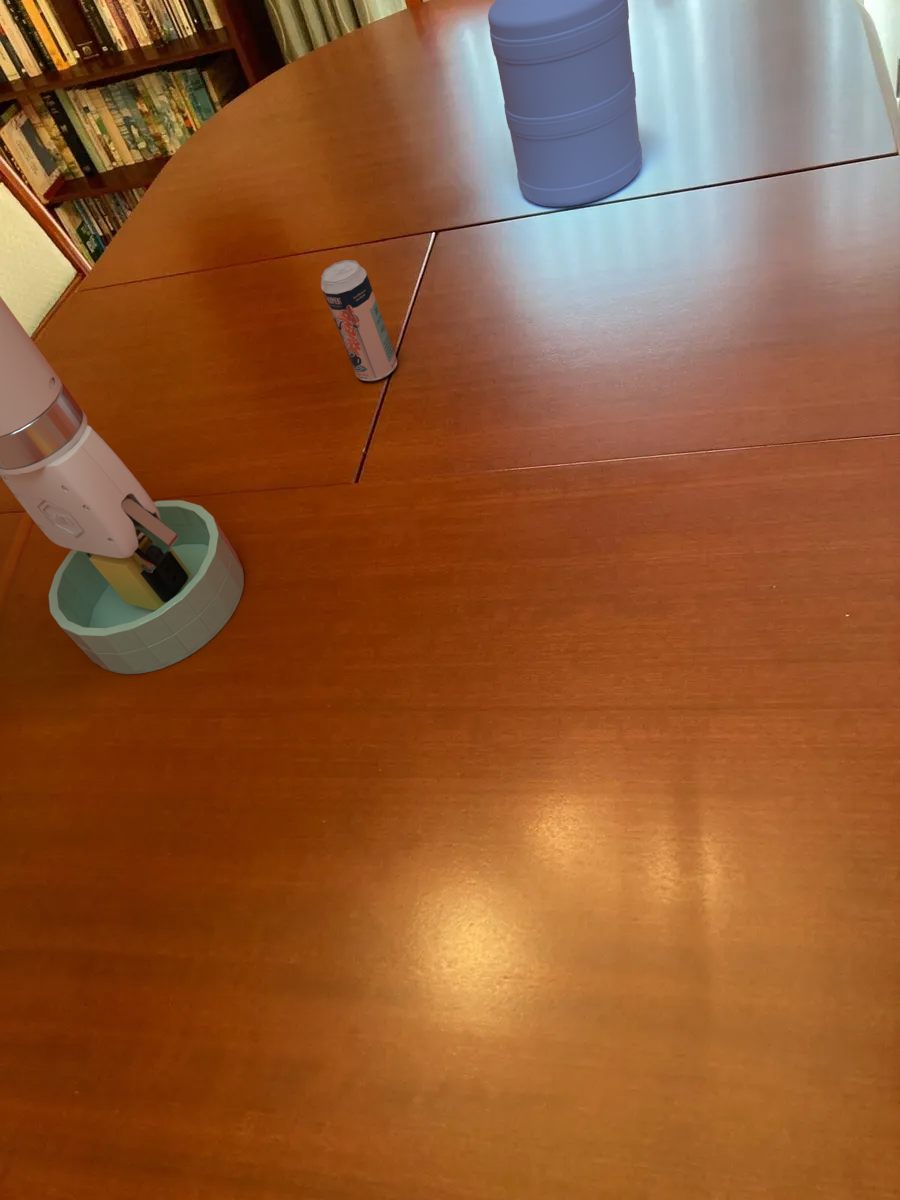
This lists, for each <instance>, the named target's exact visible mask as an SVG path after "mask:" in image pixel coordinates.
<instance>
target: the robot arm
mask: <svg viewBox="0 0 900 1200" xmlns="http://www.w3.org/2000/svg"><path fill="white" fill-rule="evenodd" d="M0 477H1V479H2V480H3V482H4V483H5V485H6V486H7V488H8V489H9V490H10V492H11V493H12V494H13V496H14V497H15V499H16V500H17V501H18V503H19V504H20V505H21V507H22V508H23V509H24V510H25V511H26V513H27V514H28V515H29V517H30V518H31V519H32V520H33V522H34V523H35V524H36V525H37V527H38V528H39V529H40V530H41V532H42V533H43V534H44V535H45V536H46V538H48V540H49V541H50V542H51V543H53V544H54V545H57V546H59V547H62V548H66V549H69V550H72V549H73V550H78V551H83V552H85V554H86V555H87V556H88V557H89V558H90V557H91V556H92V555H93V554H97V555H102V556H107V557H113V558H128V557H131V558H132V559H133V560H134V561H135V562H136V563H137V564H138V565H139V566H140V567H141V568H142V569H143V571H142V572H141V575H142V576H143V577H144V579H145V580H146V581H147V582H148V584H149V585H150V586H151V587H152V589H153V590H154V591H155V593H156V594H157V595H158V596H159V598H160V599H161V600H162V601H163V602H166V603H167V602H168V601H170V600H171V599H172V598H174V597H175V596H176V595H177V593H178V592H179V591H180V589H181V588H182V587H183V585H184V584H185V583H186V582H187V580H188V575H187V573H186V572H185V570H184V569H183V568H182V566H181V565H180V564H179V562H178V561H177V560H176V558H175V557H174V556H173V554H172V553H171V551H170V550H171V546H172V545H173V544H174V543H175V541H176V540H177V539H178V535H177V534H176V533H175V532H174V531H172V530H171V529H170V528H168V527H167V526H166V525H165V524H163V523H162V522H161V521H160V514H159V512H158V510H157V508H156V506H155V504H154V503H153V502H154V501H153V500H152V498H151V496H150V495H149V494H148V492H147V491H146V490H145V488H144V487H143V486H142V484H141V483H140V482H139V480H138V479H137V478H136V477H135V476H134V474H133V473H132V472H131V471H130V469H129V468H128V466H127V465H126V464H125V463H124V462H123V461H122V460H121V458H120V457H119V456H118V455H117V454H116V452H114V451H113V449H112V448H111V447H110V446H109V445H108V444H107V442H106V441H105V440H104V439H103V438H102V437H101V436H100V435H99V434H98V433H97V432H96V431H95V430H94V428H92V426H90V425H89V424H88V416H87V415H86V413H85V412H84V410H83V409H82V408H81V406H80V404H79V403H78V402H77V401H76V400H75V398H74V397H73V395H72V394H71V393H70V391H69V390H68V388H67V387H66V385H65V384H64V382H63V381H62V380H61V379H60V377H59V376H58V374H57V373H56V372H55V370H54V368H53V367H52V365H50V363H49V362H48V361H47V359H46V358H45V356H44V355H43V354H42V352H41V351H40V349H39V348H38V346H37V345H36V343H35V342H34V341H33V340H32V338H31V337H30V335H29V334H28V333H27V331H26V329H24V327H23V325H22V324H21V323H20V321H19V320H18V319H17V317H16V316H15V315H14V313H13V311H12V310H11V309H10V307H9V306H8V304H7V303H6V302H5V300H4V299H3V298H2V296H0ZM134 527H135V528H136V530H135V528H134ZM145 537H146V538H147V539H148V540H149V541H150V542H151V543H152V544H151V546H150V547H149V548H148V550H147V552H146V555H145V554H144V553H143V552H142V551H141V550H140V549H139V548H138V545H139V544H140V543H141V542H142V540H143V539H144V538H145Z"/></svg>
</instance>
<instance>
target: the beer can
mask: <svg viewBox="0 0 900 1200" xmlns="http://www.w3.org/2000/svg"><path fill="white" fill-rule="evenodd" d="M320 277H321V281H320V288H321V291H322V293H323V296H324V298H325V301H326V303H327V305H328V308H329V310H330V311H329V312H330V314H331V315H332V318H333V321H334V324H335V325H336V328H337V330H338V334H339V335H340V338H341V340H342V343H343V346H344V348H345V350H346V353H347V356H348V359H349V361H350V363H351V367H352V369H353V371H354V374H355V376H356V378H358V379H359V380H360V381H365V382H377V381H380V380H382V379H384V378H386V377H388V376H390V374H392V373H393V372H394V371H395V369H396V368H397V366H398V358H397V356H396V353H395V350H394V347H393V344H392V342H391V338H390V336H389V333H388V330H387V328H386V325H385V322H384V319H383V316H382V313H381V311H380V308H379V305H378V302H377V298H376V296H375V293H374V291H373V288H372V285H371V282H370V279H369V276H368V274H367V271H366V269H365V268H364V267H362V266H361V265H360V264H359V263H358V262H357V260H351V259H344V260H341V261H338V262H334V263H332V264H331V265H330V266H329V267H327V268H325V269H324V271H323V272H322V275H321V276H320Z"/></svg>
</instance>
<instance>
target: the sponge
mask: <svg viewBox="0 0 900 1200" xmlns="http://www.w3.org/2000/svg"><path fill="white" fill-rule="evenodd" d="M134 528H135V527H134ZM135 530H136V528H135ZM151 544H152V543H151V542H150V541H149V540H148V539H147V538H146V537H145V538H144V539H143V540H142V542H141V543H140V544H139V545H138V548H139V549H140V550H141V551H142V552H143V553H144V554H145V555H146V552H147V550H148V548H149V547H150V546H151ZM170 551H171V553H172V554H173V556H174V557H175V558H176V560H177V561H178V562H179V564H180V565H181V566H182V568H183V569H184V570H185V572H186V573H187V575H188V578H189V576H190V575H191V573H190V572H189V571H188V569H187V568H186V567H185V565H184V564H183V563H182V561H181V560H180V558H179V557H178V556H177V554H176V553H175V552H174V550H173V549H172V547H171V550H170ZM89 560H90V561H91V562H92V563H93V565H94V566H95V567H96V568H97V569H98V570H99V572H100V573H101V574H102V575H103V576H104V578H105V579H106V580H107V581H108V582H109V583H110V585H111V586H112V587H113V588H114V589H115V591H116V592H117V593H118V594H119V595H120V597H121V598H122V599H123V600H124V601H125V602H126V604H130V605H134V606H139V607H143V608H147V609H151V610H155V611H156V610H157V609H159V608H160V607H161V606H163V605H164V604H166V602H163V601H162V600H161V599H160V598H159V596H158V595H157V594H156V593H155V591H154V590H153V589H152V587H151V586H150V585H149V584H148V582H147V581H146V580H145V579H144V577H143V576H142V575H141V572H142V571H143V569H142V568H141V567H140V566H139V565H138V564H137V563H136V562H135V561H134V560H133V559H132V558H131V557H128V558H113V557H107V556H102V555H97V554H93V555H92V556H91V557H90V558H89Z"/></svg>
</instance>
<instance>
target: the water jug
mask: <svg viewBox="0 0 900 1200" xmlns="http://www.w3.org/2000/svg"><path fill="white" fill-rule="evenodd" d="M629 8H630V7H629V0H495V1H494V2H493V3H492V4H491V5H490V7H489V10H488V14H487V19H488V25H489V36H490V37H489V38H490V42H491V48H492V51H493V55H494V57H495V61H496V66H497V70H498V76H499V82H500V86H501V87H500V88H501V91H502V97H503V101H504V105H503V107H504V114H505V119H506V124H507V127H508V130H509V134H510V139H511V144H512V149H513V154H514V160H515V164H516V169H517V171H516V177H517V178H516V179H517V181H518V186H519V190H520V192H521V194H522V195H523V196H524V197H525V198H526V199H527V200H528V201H530V202H531V203H534V204H536V205H540V206H544V207H552V208H564V207H573V206H579V205H584V204H589V203H593V202H595V201H598V200H601V199H604V198H606V197H609V196H610V195H613V194H614V193H616V192H618V191H620V190H621V189H623V188H624V187H625V186H627V185H628V184H629V183H631V181H632V180H633V179H634V178H635V177H636V176H637V174H638V173H639V171H640V169H641V167H642V163H643V150H642V144H641V142H640V134H639V125H638V124H639V123H638V112H637V103H636V102H637V101H636V97H637V86H636V78H635V77H636V76H635V72H634V70H633V57H632V45H631V36H630V34H631V33H630V26H629V20H630V10H629Z"/></svg>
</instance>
